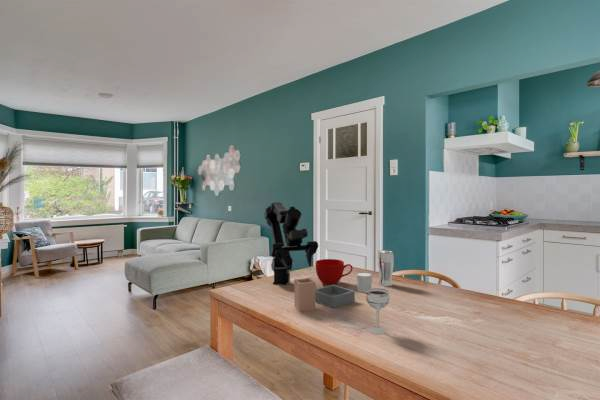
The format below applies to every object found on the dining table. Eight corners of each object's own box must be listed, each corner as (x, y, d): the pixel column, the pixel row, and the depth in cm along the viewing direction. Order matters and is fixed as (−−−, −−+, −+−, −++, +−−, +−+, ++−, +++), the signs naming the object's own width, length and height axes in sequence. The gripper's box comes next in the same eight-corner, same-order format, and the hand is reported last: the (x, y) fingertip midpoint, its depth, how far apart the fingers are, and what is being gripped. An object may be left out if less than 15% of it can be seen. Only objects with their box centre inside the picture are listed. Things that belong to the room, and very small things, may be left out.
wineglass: (381, 337, 96) (381, 296, 96) (362, 330, 101) (361, 291, 101) (393, 330, 101) (393, 291, 101) (373, 324, 106) (373, 286, 105)
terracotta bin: (294, 306, 123) (294, 279, 122) (309, 304, 125) (309, 278, 124) (299, 312, 117) (299, 283, 117) (315, 310, 119) (315, 282, 119)
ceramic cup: (354, 287, 146) (354, 265, 145) (315, 287, 146) (315, 265, 146) (350, 279, 159) (350, 258, 158) (315, 279, 159) (315, 259, 159)
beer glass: (374, 283, 151) (374, 251, 151) (386, 281, 154) (386, 249, 154) (384, 287, 145) (384, 253, 145) (397, 285, 148) (397, 252, 148)
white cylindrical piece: (373, 293, 138) (373, 276, 138) (357, 293, 138) (357, 276, 138) (370, 288, 145) (370, 272, 144) (354, 288, 145) (354, 272, 145)
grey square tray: (312, 300, 129) (311, 290, 129) (333, 294, 136) (333, 284, 136) (333, 308, 120) (333, 297, 120) (354, 301, 128) (354, 291, 127)
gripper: (271, 223, 129) (279, 256, 119) (316, 221, 135) (327, 253, 125) (267, 240, 137) (274, 273, 127) (310, 237, 143) (319, 269, 133)
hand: (299, 266), depth 128 cm, fingers open, 9 cm apart
